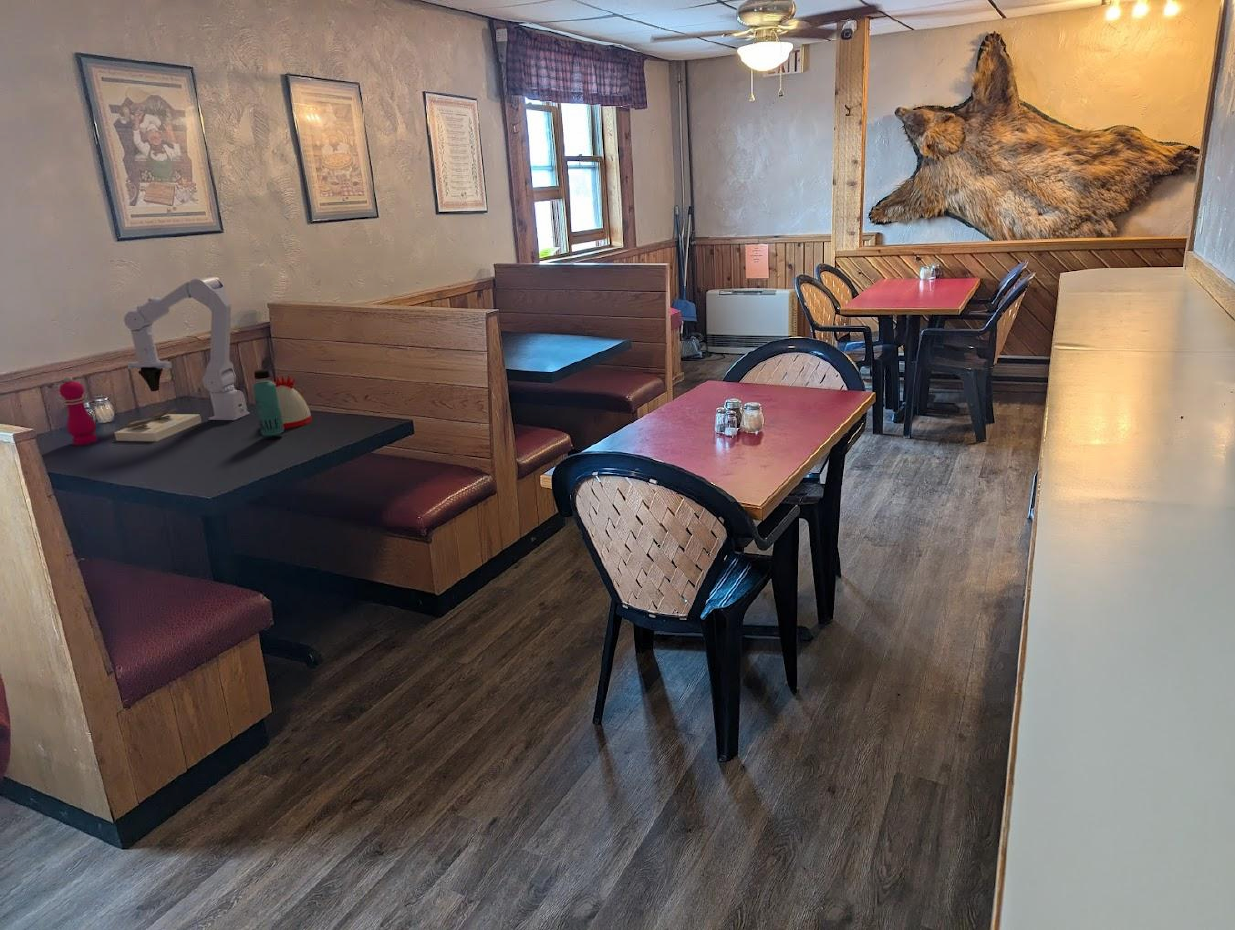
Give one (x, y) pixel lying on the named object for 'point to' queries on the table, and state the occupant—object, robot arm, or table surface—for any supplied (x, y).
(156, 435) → the switch console
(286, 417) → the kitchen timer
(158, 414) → the block
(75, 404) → the pepper mill
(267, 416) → the beverage bottle
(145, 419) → the block
